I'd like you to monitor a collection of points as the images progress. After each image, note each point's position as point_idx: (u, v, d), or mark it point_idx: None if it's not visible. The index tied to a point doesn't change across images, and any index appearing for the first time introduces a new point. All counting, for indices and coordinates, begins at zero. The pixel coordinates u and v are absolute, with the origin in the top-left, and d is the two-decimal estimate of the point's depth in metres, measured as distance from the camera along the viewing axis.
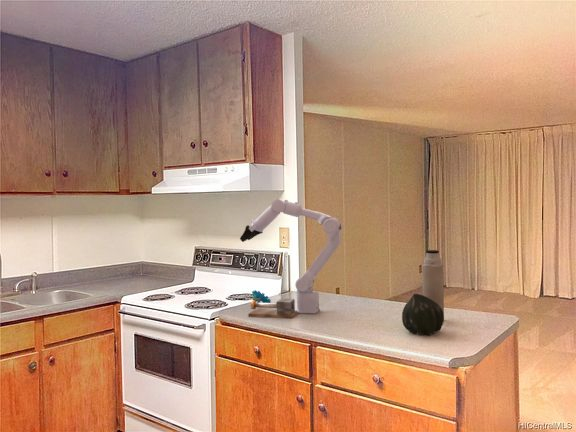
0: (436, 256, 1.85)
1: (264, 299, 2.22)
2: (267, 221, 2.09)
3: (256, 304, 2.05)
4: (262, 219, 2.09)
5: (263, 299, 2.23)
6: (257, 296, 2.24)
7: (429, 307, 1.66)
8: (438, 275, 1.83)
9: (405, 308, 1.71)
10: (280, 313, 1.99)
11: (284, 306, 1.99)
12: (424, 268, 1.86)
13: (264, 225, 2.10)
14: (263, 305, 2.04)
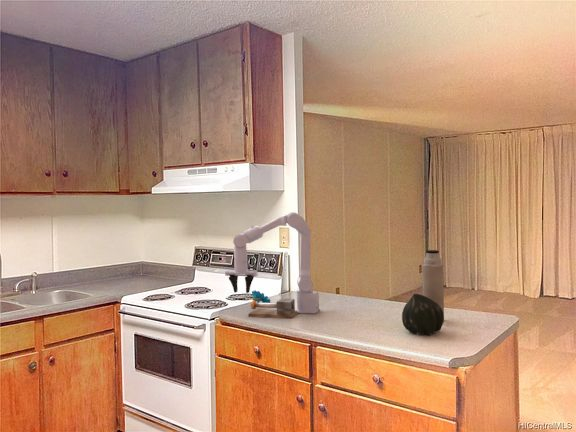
0: (436, 256, 1.85)
1: (264, 299, 2.22)
2: (244, 260, 2.05)
3: (256, 304, 2.05)
4: (246, 261, 2.06)
5: (263, 299, 2.23)
6: (257, 296, 2.24)
7: (429, 307, 1.66)
8: (438, 275, 1.84)
9: (405, 308, 1.71)
10: (280, 313, 1.99)
11: (284, 306, 1.99)
12: (424, 268, 1.86)
13: None
14: (263, 305, 2.04)
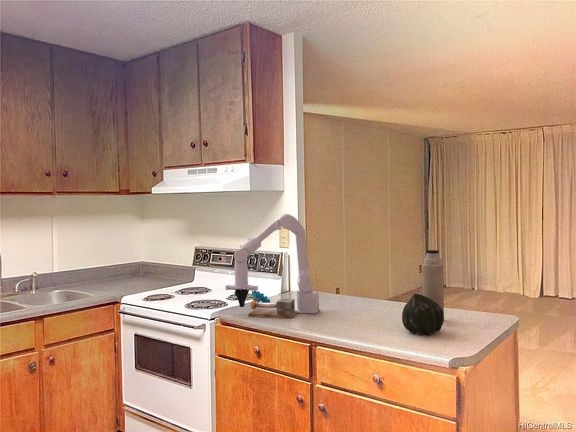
0: (436, 256, 1.85)
1: (263, 299, 2.22)
2: (245, 274, 2.05)
3: (256, 304, 2.05)
4: (247, 276, 2.06)
5: (263, 299, 2.23)
6: (257, 296, 2.24)
7: (429, 307, 1.66)
8: (438, 275, 1.84)
9: (405, 308, 1.71)
10: (280, 313, 1.99)
11: (284, 306, 1.99)
12: (424, 268, 1.86)
13: None
14: (263, 305, 2.04)
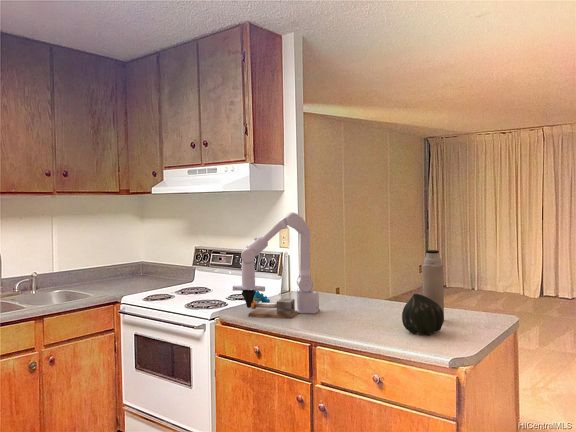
0: (436, 256, 1.85)
1: (263, 299, 2.22)
2: (252, 275, 2.04)
3: (256, 304, 2.05)
4: (254, 276, 2.05)
5: (262, 299, 2.23)
6: (256, 296, 2.24)
7: (429, 307, 1.66)
8: (438, 275, 1.84)
9: (405, 308, 1.71)
10: (280, 313, 1.99)
11: (284, 306, 1.99)
12: (424, 268, 1.86)
13: None
14: (263, 305, 2.04)
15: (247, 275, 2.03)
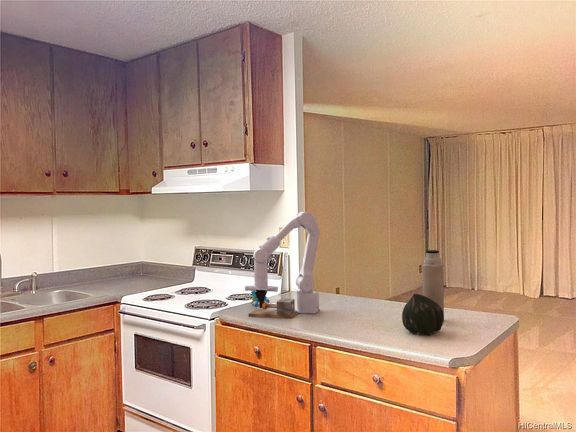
0: (436, 256, 1.85)
1: None
2: (265, 275, 2.03)
3: (267, 304, 2.03)
4: (266, 277, 2.04)
5: None
6: (256, 296, 2.24)
7: (429, 307, 1.66)
8: (438, 275, 1.84)
9: (405, 308, 1.71)
10: (280, 313, 1.99)
11: (284, 306, 1.99)
12: (424, 268, 1.86)
13: None
14: (274, 305, 2.02)
15: (260, 275, 2.02)
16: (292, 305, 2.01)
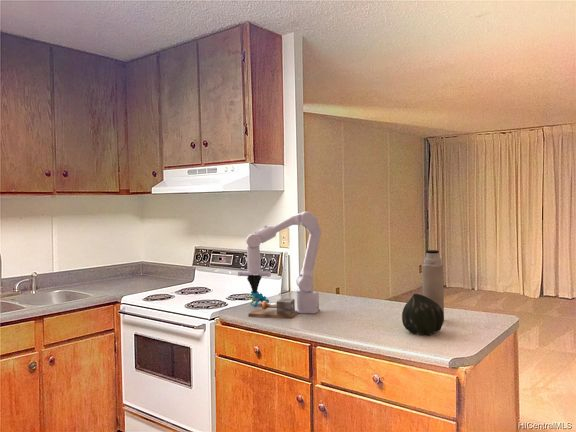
0: (436, 256, 1.85)
1: (263, 299, 2.22)
2: (258, 260, 2.03)
3: (267, 304, 2.03)
4: (259, 262, 2.04)
5: (262, 299, 2.23)
6: (256, 296, 2.24)
7: (429, 307, 1.66)
8: (438, 275, 1.84)
9: (405, 308, 1.71)
10: (280, 313, 1.99)
11: (284, 306, 1.99)
12: (424, 268, 1.86)
13: None
14: (274, 305, 2.02)
15: (253, 260, 2.03)
16: (292, 305, 2.01)
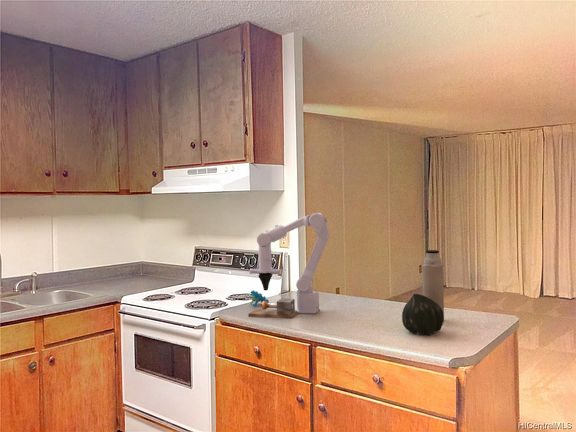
0: (436, 256, 1.85)
1: (262, 299, 2.22)
2: (268, 258, 2.08)
3: (267, 304, 2.03)
4: (270, 260, 2.10)
5: (261, 299, 2.23)
6: (256, 296, 2.24)
7: (429, 307, 1.66)
8: (438, 275, 1.84)
9: (405, 308, 1.71)
10: (280, 313, 1.99)
11: (284, 306, 1.99)
12: (424, 268, 1.86)
13: None
14: (274, 305, 2.02)
15: (262, 258, 2.08)
16: (292, 305, 2.01)
